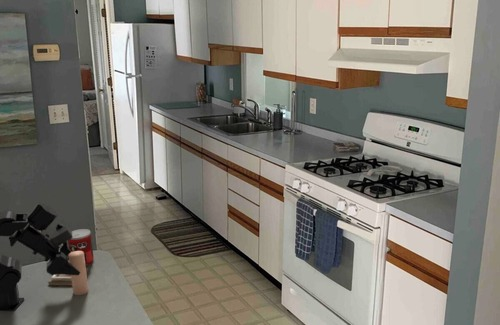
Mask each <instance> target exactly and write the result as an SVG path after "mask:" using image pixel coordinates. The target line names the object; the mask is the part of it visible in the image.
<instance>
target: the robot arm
mask: <svg viewBox="0 0 500 325" xmlns="http://www.w3.org/2000/svg"><path fill="white" fill-rule="evenodd" d="M58 215H59V214H58V212H57V211H56V210H55V209H54V208H52V207H51V206H50V205H46V204H44V203H41V202H37V203H36V204H35V206H34V208H33V209H32V210H31V211H30V212H27V213H26V212H21V213H19V212H18V213H15V212H14V211H11V210H6V211H2V212H0V237H8V240H9V244H10V247H11V248H12V247H13V246H14V245H16V243H18V244H21V245H22V246H24V247H26V248H27V249H29V250H31V251H32V252H31V253H32V255H35V256H36V255H40V256H41V257H42V258H43V261H44V262H46V273H47V274H49V275H50V276H51V277H52V276H53V275H56V274H68V275H79V274H80V271H79V270H77V269H76V268H75V267H74V266H73V265H72V264H70V263H69V256H68V255H69V253H71V252H72V251H71V250H70V249H69V246H68V240H70V239H71V238H72V237H73V236H72V231H71V229H70V227H69V225H66V224H63V223H61V222H59V223H58V224H56V225H55V230H53V232H52V233H49V232H44V233H43V232H42V231H46V230H47V229H48V228H49V226H50V225H51V224H52V223H53V222H54V220H55V219H57V218H58ZM22 272H23V265H22V263H21V261H20V260H18V259H16V257H15V256H7V255H4V254H0V311H15V310H16V309H17V308H18V307H19V306H20V305H21V304H22V303H23V302H24V301H25V298H24V297H20V293H19V286H18V283H19V282H20V281H21V280H22V274H23V273H22Z"/></svg>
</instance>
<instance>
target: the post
mask: <svg viewBox="0 0 500 325" xmlns="http://www.w3.org/2000/svg"><path fill="white" fill-rule="evenodd" d="M68 256H69V261H68V262H69V263H70V264H72V265H73V266H74V267H75V268H76V269H77V270H79V271H80V274H79V275H71V279H72V285H71V286H72V293H73V295H75V296H81V295H85V294H87V293H88V292H89V284H88V283H89V282H88V278H87V277H88V276H87V274H88V273H86V268H87V267H86V266H87V265H85V258H84V252H83V251H74V252H71V253H69V255H68Z"/></svg>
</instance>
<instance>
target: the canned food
mask: <svg viewBox="0 0 500 325" xmlns="http://www.w3.org/2000/svg"><path fill="white" fill-rule="evenodd" d="M71 232H72V236H73V237H72V238H71V239H70V240H67V246H68V248H69V249H70V250H71V251H72V252H74V251H83V252H84V258H85V266H87V265H90V264H91V263H92V262H93V261H94V259H95V258H94V250H93V249H94V247H93V241H92V234H91V233H92V232H91V230H90V229H87V228H80V229H75V230H73V231H71Z"/></svg>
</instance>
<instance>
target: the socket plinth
mask: <svg viewBox="0 0 500 325" xmlns="http://www.w3.org/2000/svg"><path fill="white" fill-rule="evenodd" d="M88 272H89V268H87V267H86V274H88ZM47 283H48V286H72V279H71V275H68V274H56V275H53V276H52V275H51V278H50V279H49V280H48V282H47Z"/></svg>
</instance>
